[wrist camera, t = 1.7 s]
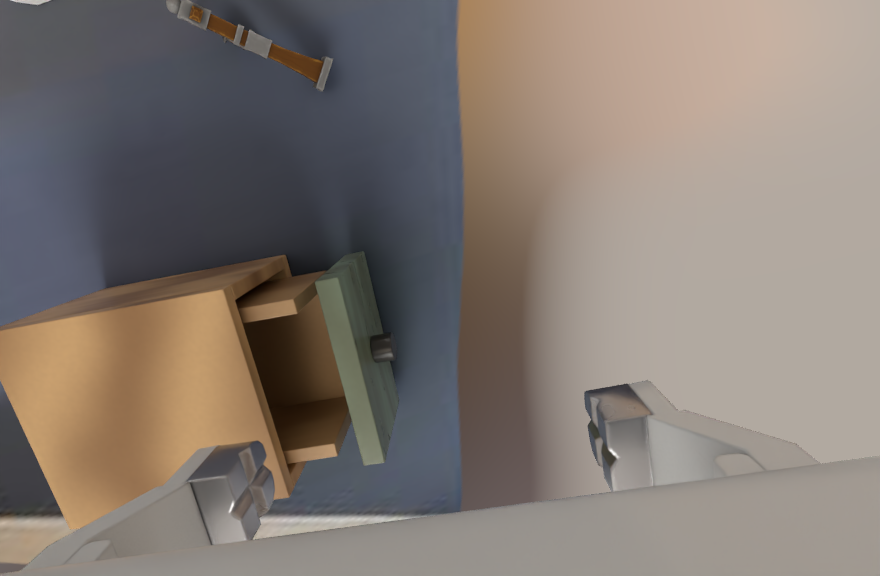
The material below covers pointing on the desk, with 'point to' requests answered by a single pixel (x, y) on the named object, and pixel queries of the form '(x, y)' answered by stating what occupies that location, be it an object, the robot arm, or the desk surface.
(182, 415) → the cabinet
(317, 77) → the wooden post with brackets
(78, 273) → the desk surface
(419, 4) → the desk surface
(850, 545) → the robot arm
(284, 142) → the desk surface
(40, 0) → the white cup
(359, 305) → the drawer
